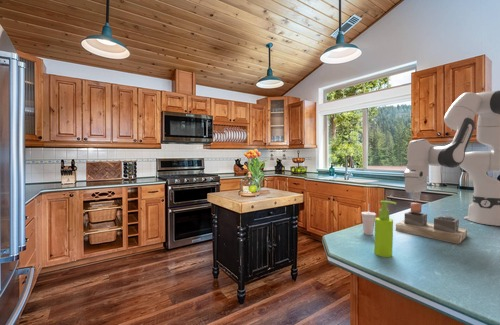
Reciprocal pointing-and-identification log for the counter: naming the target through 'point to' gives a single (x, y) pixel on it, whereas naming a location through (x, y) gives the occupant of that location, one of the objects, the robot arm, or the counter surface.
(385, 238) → the soap dispenser
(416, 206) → the terracotta button
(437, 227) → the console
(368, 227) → the smoothie
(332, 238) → the counter surface
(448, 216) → the grey cube
